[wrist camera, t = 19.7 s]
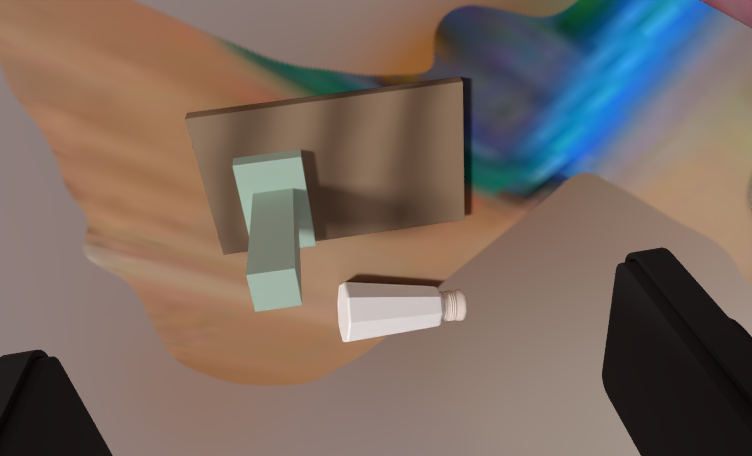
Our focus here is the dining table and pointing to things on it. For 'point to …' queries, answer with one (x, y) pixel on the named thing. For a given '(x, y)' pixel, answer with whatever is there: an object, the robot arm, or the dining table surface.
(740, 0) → the liquor
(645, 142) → the dining table surface
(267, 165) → the mint t-shaped block
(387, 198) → the board
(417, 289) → the pepper shaker
